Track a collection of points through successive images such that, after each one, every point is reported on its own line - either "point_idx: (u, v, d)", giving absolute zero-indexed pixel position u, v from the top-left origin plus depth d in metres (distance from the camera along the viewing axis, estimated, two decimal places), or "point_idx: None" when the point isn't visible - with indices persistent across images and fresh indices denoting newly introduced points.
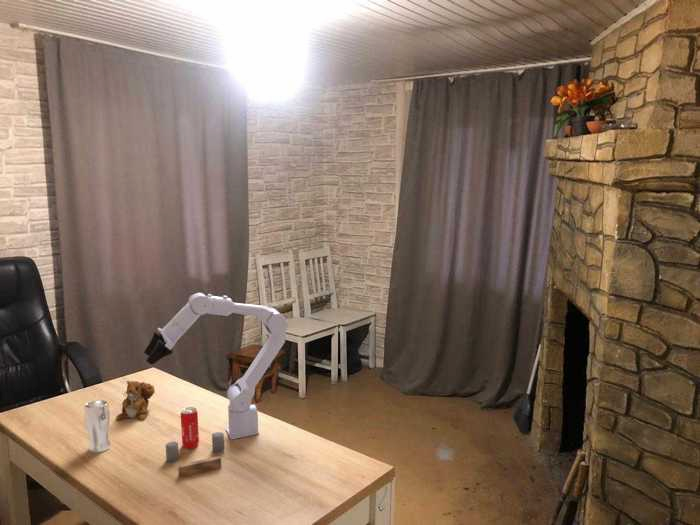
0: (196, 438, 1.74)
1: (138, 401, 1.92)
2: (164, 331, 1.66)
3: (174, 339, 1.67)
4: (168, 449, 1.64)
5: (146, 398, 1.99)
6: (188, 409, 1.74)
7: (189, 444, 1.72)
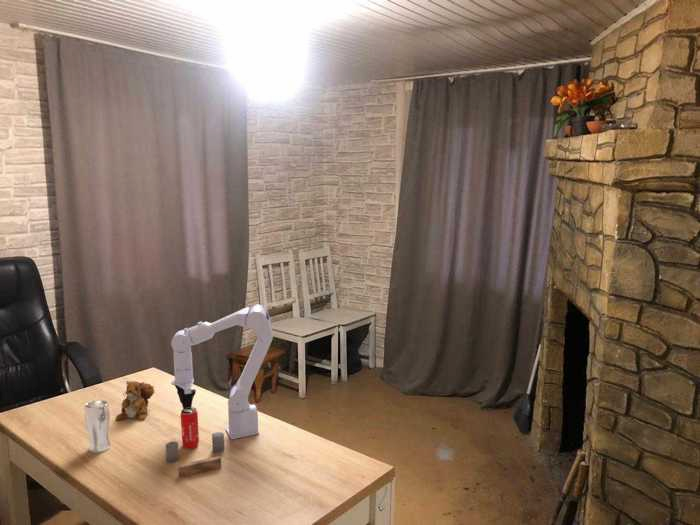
0: (196, 438, 1.74)
1: (138, 401, 1.92)
2: (177, 381, 1.75)
3: (189, 380, 1.76)
4: (168, 449, 1.64)
5: (146, 398, 1.99)
6: (188, 409, 1.74)
7: (189, 444, 1.72)
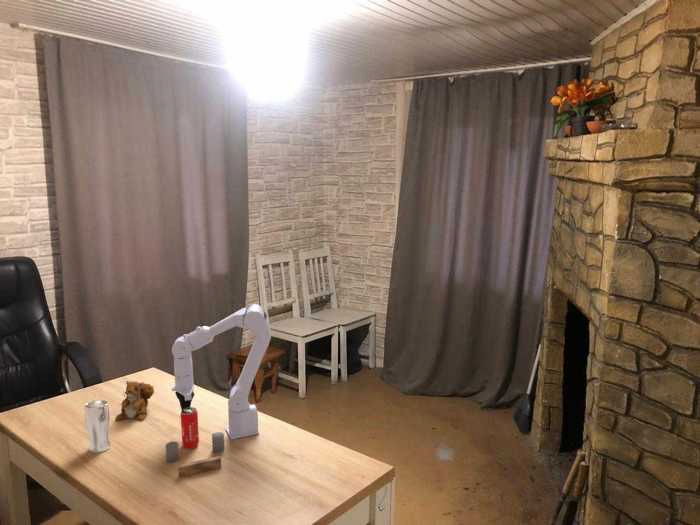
0: (196, 438, 1.74)
1: (137, 401, 1.91)
2: (177, 388, 1.76)
3: (189, 387, 1.76)
4: (168, 449, 1.64)
5: (145, 398, 1.99)
6: (188, 409, 1.74)
7: (189, 444, 1.72)
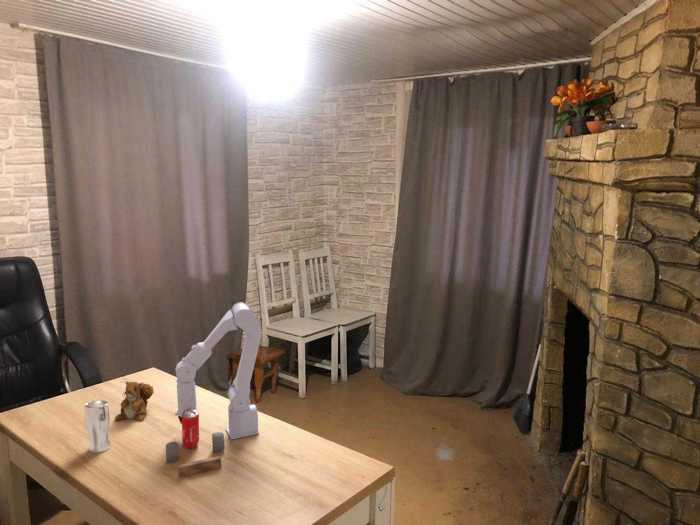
0: (196, 439, 1.73)
1: (137, 402, 1.91)
2: (180, 412, 1.74)
3: None
4: (168, 449, 1.64)
5: (145, 399, 1.99)
6: (189, 411, 1.71)
7: (189, 445, 1.72)
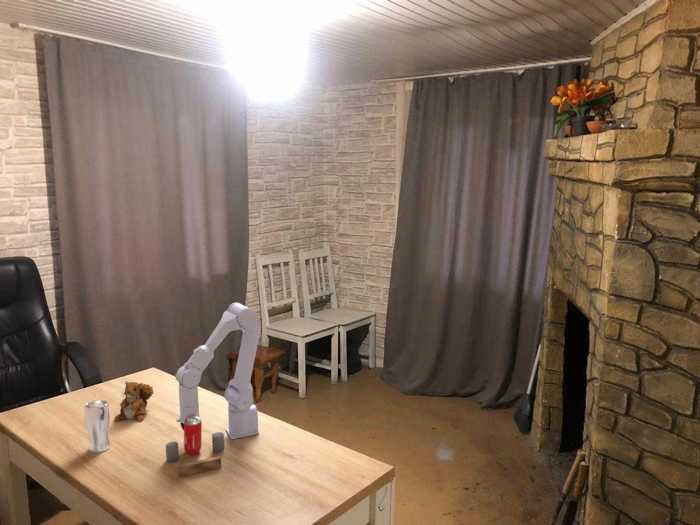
0: (199, 446, 1.69)
1: (136, 402, 1.91)
2: (182, 418, 1.69)
3: None
4: (168, 449, 1.64)
5: (145, 399, 1.98)
6: (192, 418, 1.67)
7: (191, 452, 1.68)
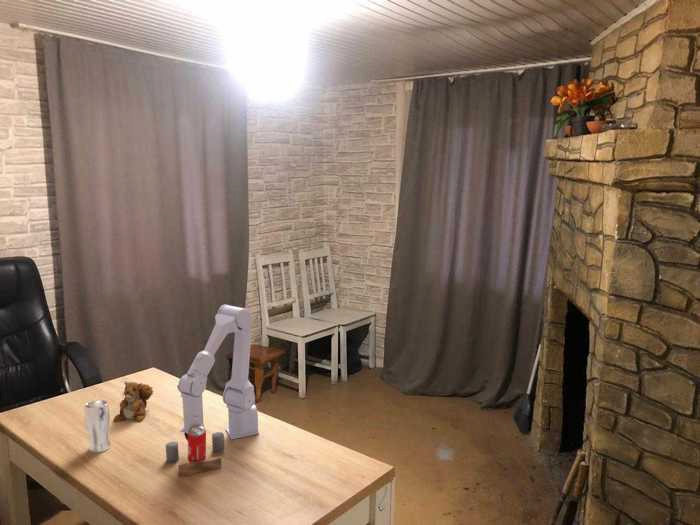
0: (203, 457, 1.63)
1: (135, 402, 1.91)
2: (186, 428, 1.63)
3: None
4: (168, 449, 1.64)
5: (144, 399, 1.98)
6: (196, 428, 1.61)
7: None
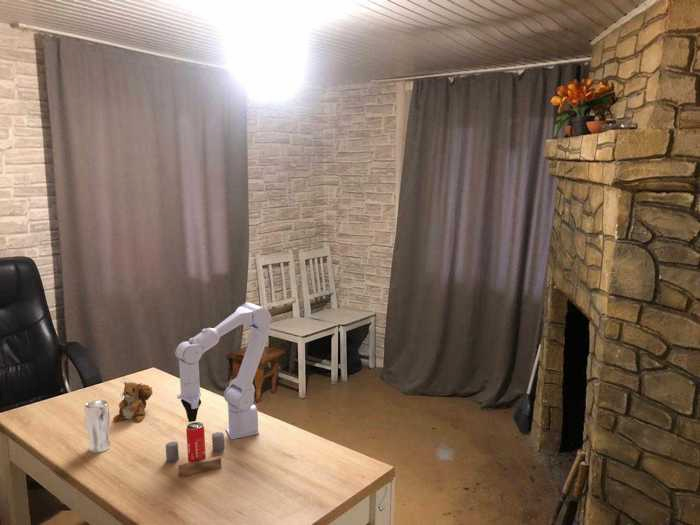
0: (203, 455, 1.63)
1: (135, 403, 1.91)
2: (183, 395, 1.66)
3: (196, 394, 1.67)
4: (168, 449, 1.64)
5: (144, 399, 1.98)
6: (194, 424, 1.64)
7: None
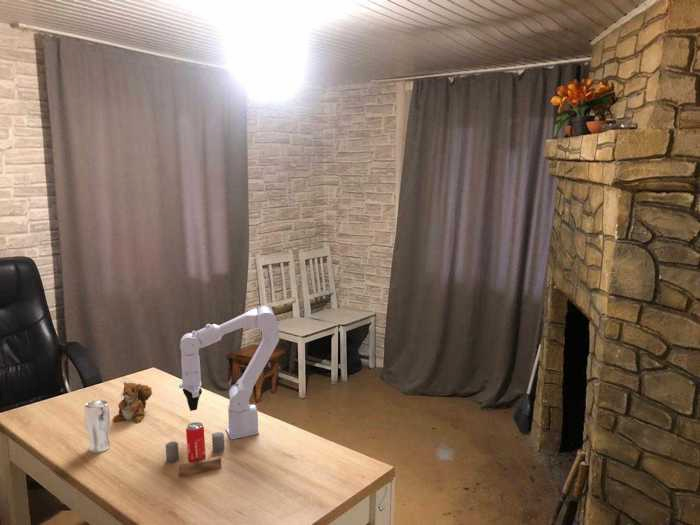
0: (202, 455, 1.63)
1: (134, 403, 1.90)
2: (184, 385, 1.74)
3: (197, 383, 1.75)
4: (168, 449, 1.64)
5: (143, 400, 1.98)
6: (194, 424, 1.64)
7: None
